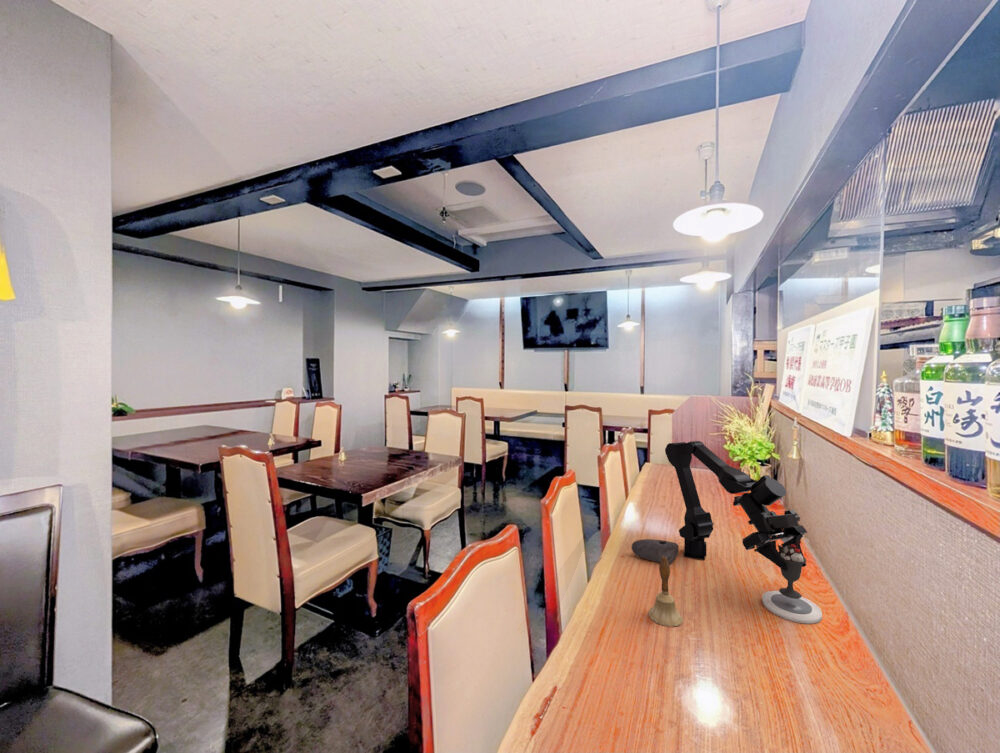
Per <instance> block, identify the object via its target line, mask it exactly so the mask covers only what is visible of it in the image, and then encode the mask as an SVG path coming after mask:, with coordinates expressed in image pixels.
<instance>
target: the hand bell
mask: <svg viewBox="0 0 1000 753" xmlns="http://www.w3.org/2000/svg"><path fill="white" fill-rule="evenodd" d="M658 568H659V576H660V578H661V592H659V593H657V594H656V596H655V602H654V605H653V606H652V607H650V609H649V610H648V617H649V616H650V617H649V618H650V619H651V620H652V621H653V622H654V623H656V624H657V623H658V624H657V625H660V626H662V625H664V626H663V627H666V626H676V627H678V626H679V627H680V626H681V624H683V621H684V620H683V617H682V615H681V613H680V612H679V611H678V610H677V607H676V600H675V598H674V596H673V595H672V594H670V591H669V590H670V589H669V578H670V576H671V566H670V563H669V562H668V560H667V557H666V556H662V558H661V561H660V562H659V567H658Z"/></svg>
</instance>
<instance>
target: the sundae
mask: <svg viewBox="0 0 1000 753" xmlns="http://www.w3.org/2000/svg"><path fill="white" fill-rule="evenodd" d="M799 542H800V544H802V541H799ZM797 543H798V542H797ZM797 543H796V544H797ZM798 544H799V543H798ZM798 544H797V546H798ZM777 548H778V549H777V550H778V552H779V554H780V555H781V557H782V559H783V560H784V562H785V564H786V566H787V568H788V570H787V571H784V570H782V569H781V568H780V572H781V575H782V577H783V578H784V579H785V580H786V581H787V586H786V587H781V588H779V590H778V591H779V592H780V593H781V594H783V595H784V596H787V597H789V598H794V599H799V598H801V597H802V594H801V593H800V592H798V591H797V590H795V589H794V583H795V582H797V581H799V580H800V578H801V575H802V570H803V567H802V565H803V564H805V563H806V564H807V559H806V558H805V556H804V555H803V556H804V557H803V556H802V555H801V554H800V550H799V549H798V547H797V548H796V546H795V544H791V546H789V545H788V546H786V547H782V546H781V544H780V545H779V544H778V545H777Z"/></svg>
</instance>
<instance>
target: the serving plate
mask: <svg viewBox="0 0 1000 753" xmlns="http://www.w3.org/2000/svg"><path fill="white" fill-rule="evenodd" d="M761 600H762V604H763V606H764V608H765V609H766V610H768V611H769V612H771V613H772V614H774V615H775V616H776V617H777V616H778V617H779V618H781V619H784V620H787V621H791V622H794V623H798V624H806V625H812V624H817V623H820V622H821V621H822V618H823V617H822V616H823V615H822V614H823V612H822V609H821V608H820V607H819V606H818V605H817V604H815V602H814V601H812V600H809V599H808V598H806V597H804V596H801V598H799V599H794V598H789V597H787V596H784V595H783V594H781V593H780V592H779V590H769V591H765V592H764V593H763V594H762V596H761Z"/></svg>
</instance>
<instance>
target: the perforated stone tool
mask: <svg viewBox="0 0 1000 753" xmlns="http://www.w3.org/2000/svg"><path fill="white" fill-rule="evenodd" d="M679 547H680V546H679V545H678V544H677V543H676V542H672V541H667V540H663V539H662V540H660V539H650V538H649V539H648V538H647V539H638V540H635V541H634V542H632V544H631V551H632V553H633V554H634V555H636V556H637V557H639V558H641V559H644V560H645V559H646V560H648V561H653V562H656V563H660V561H661V558H662V556H666V557H667V560H668V562H669V564H672V563H673V562H675V560H676V559H677V558H678V555H679V551H680V550H679Z"/></svg>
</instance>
